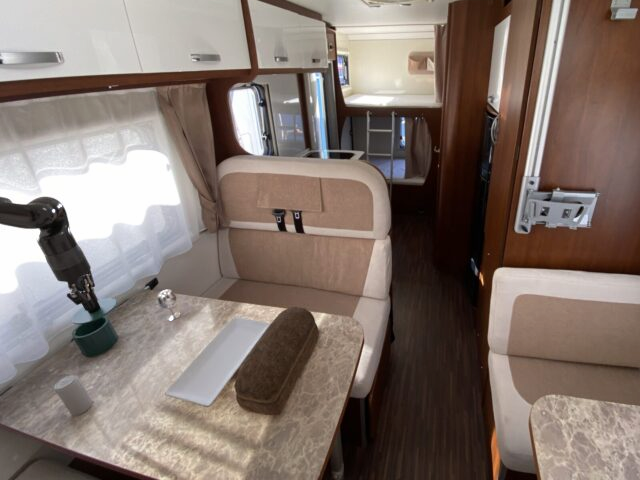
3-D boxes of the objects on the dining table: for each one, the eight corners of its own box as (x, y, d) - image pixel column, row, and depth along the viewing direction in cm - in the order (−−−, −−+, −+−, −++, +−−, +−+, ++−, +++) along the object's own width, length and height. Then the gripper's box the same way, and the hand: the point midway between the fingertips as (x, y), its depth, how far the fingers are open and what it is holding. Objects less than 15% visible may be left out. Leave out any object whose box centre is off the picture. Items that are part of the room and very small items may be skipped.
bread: (233, 413, 88) (220, 376, 82) (288, 327, 116) (281, 294, 110) (278, 423, 85) (268, 385, 79) (323, 332, 113) (318, 299, 107)
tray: (273, 329, 116) (271, 322, 114) (211, 414, 88) (208, 406, 86) (236, 322, 120) (234, 315, 118) (166, 401, 92) (162, 393, 90)
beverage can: (95, 405, 92) (78, 378, 87) (75, 420, 88) (55, 393, 83) (90, 397, 94) (73, 370, 89) (69, 411, 90) (51, 384, 86)
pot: (79, 362, 106) (67, 342, 102) (87, 341, 114) (76, 323, 110) (115, 348, 111) (104, 329, 107) (120, 330, 119) (111, 311, 115)
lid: (67, 331, 91) (55, 312, 88) (78, 308, 99) (68, 290, 97) (113, 316, 96) (104, 297, 93) (120, 295, 104) (111, 278, 102)
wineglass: (167, 313, 126) (158, 290, 121) (183, 309, 128) (174, 286, 123) (163, 323, 121) (153, 300, 116) (180, 319, 123) (170, 296, 118)
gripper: (59, 254, 94) (83, 297, 100) (41, 278, 82) (69, 325, 89) (90, 246, 97) (112, 289, 104) (77, 269, 86) (102, 315, 93)
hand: (92, 305), depth 96 cm, fingers closed on lid, 3 cm apart
